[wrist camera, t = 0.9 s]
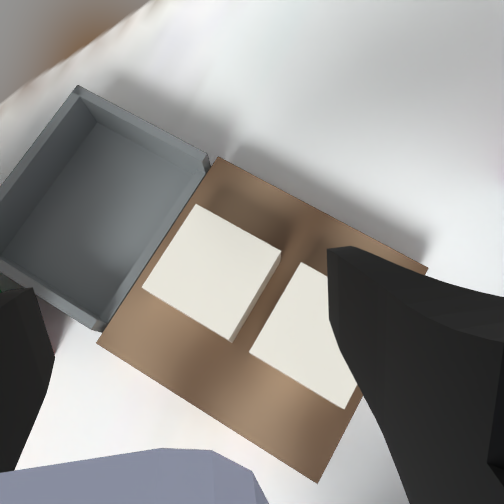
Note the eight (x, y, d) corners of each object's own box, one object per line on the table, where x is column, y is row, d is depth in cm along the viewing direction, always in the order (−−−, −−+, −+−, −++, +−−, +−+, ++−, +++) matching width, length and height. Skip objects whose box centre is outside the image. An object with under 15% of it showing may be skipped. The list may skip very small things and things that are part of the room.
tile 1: (383, 319, 22) (394, 313, 20) (337, 406, 21) (344, 409, 19) (298, 271, 23) (300, 262, 21) (250, 354, 22) (248, 352, 20)
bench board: (416, 276, 25) (428, 267, 23) (313, 474, 22) (317, 484, 20) (222, 172, 27) (217, 156, 25) (109, 345, 24) (96, 343, 22)
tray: (214, 178, 26) (207, 153, 24) (112, 335, 24) (90, 329, 22) (97, 115, 28) (77, 84, 25) (-8, 259, 26) (-44, 244, 23)
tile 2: (280, 261, 23) (281, 251, 21) (232, 343, 22) (228, 339, 20) (201, 217, 24) (195, 203, 22) (152, 294, 23) (141, 287, 21)
